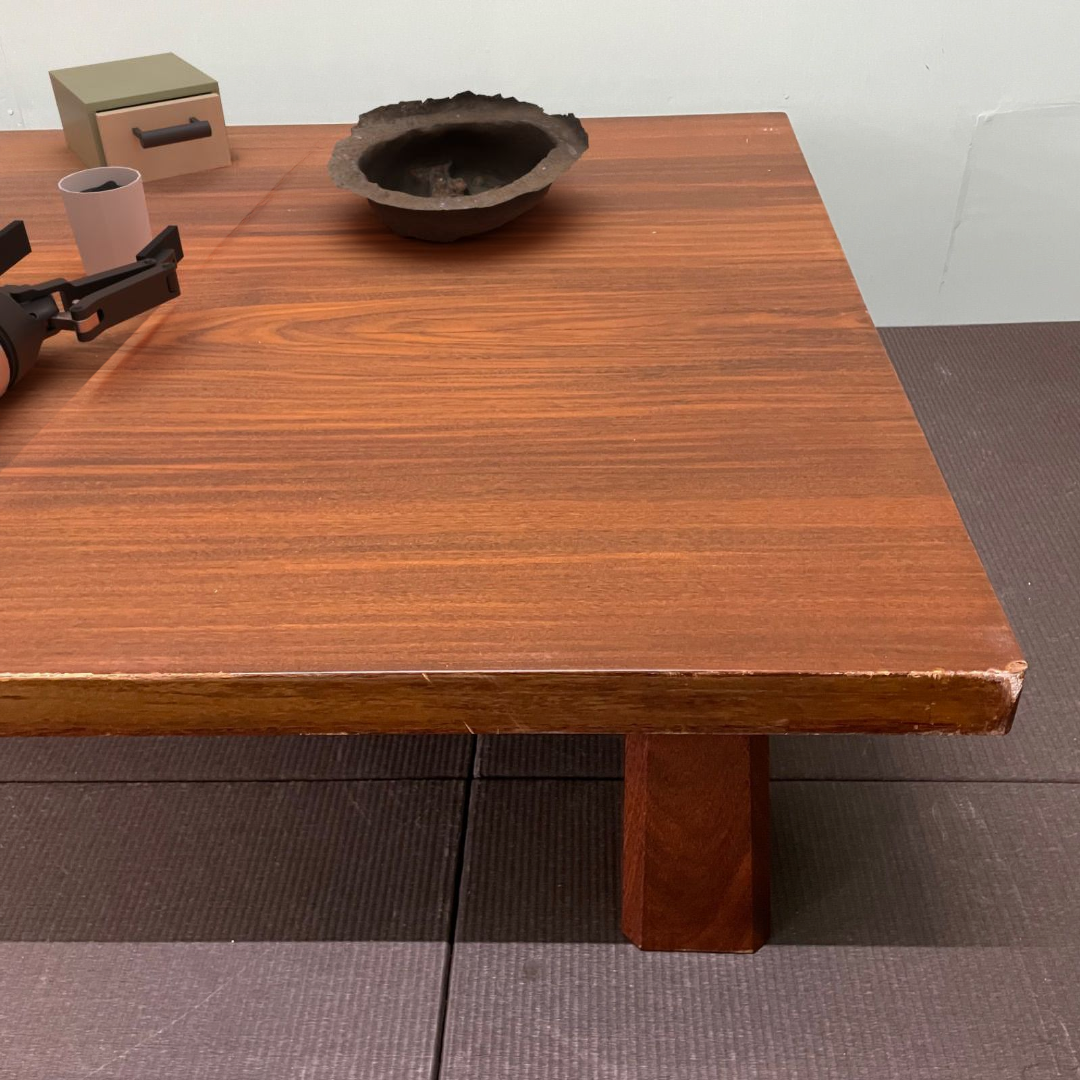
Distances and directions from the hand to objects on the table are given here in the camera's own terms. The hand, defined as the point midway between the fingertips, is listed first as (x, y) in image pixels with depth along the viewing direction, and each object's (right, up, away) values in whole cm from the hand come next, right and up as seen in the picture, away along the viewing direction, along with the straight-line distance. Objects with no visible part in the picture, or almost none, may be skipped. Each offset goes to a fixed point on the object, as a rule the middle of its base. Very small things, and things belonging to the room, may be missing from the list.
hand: (99, 238), depth 97 cm
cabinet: (-7, +17, +33) cm, 38 cm away
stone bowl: (+29, +6, +18) cm, 35 cm away
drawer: (-4, +15, +30) cm, 33 cm away
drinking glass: (0, -4, +5) cm, 6 cm away
